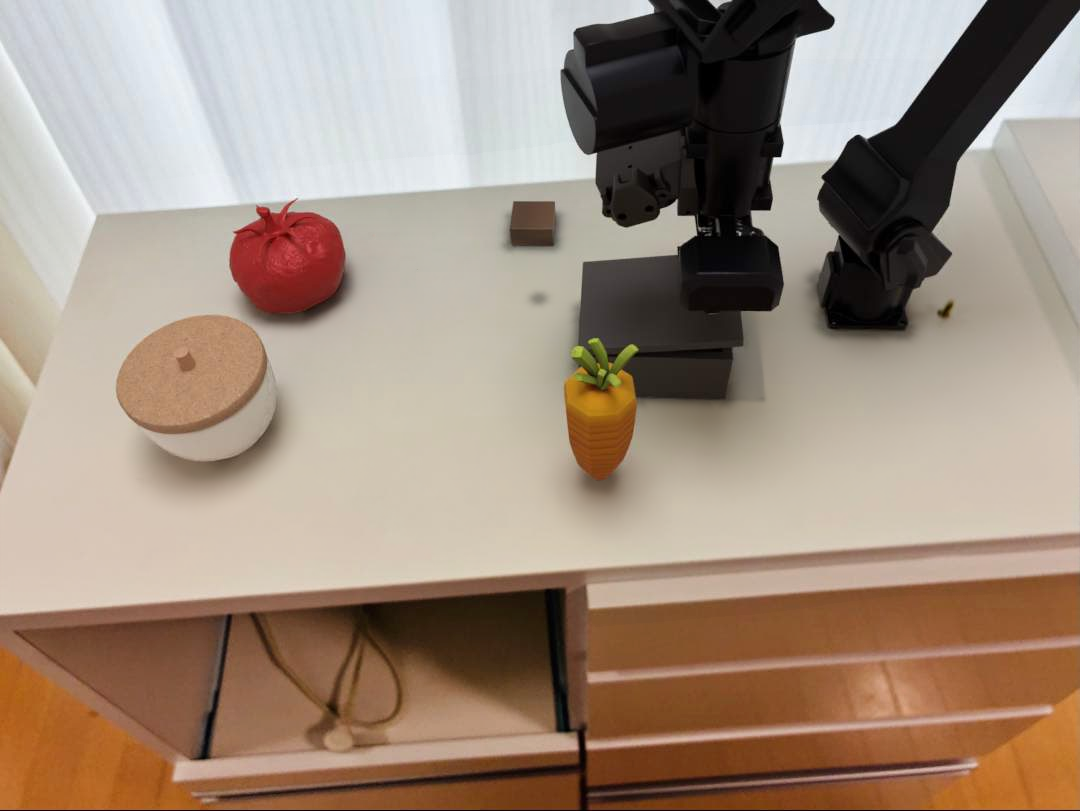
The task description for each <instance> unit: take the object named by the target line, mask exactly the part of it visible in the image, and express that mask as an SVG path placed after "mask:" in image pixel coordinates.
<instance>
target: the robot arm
mask: <svg viewBox="0 0 1080 811" xmlns="http://www.w3.org/2000/svg"><path fill="white" fill-rule="evenodd" d="M647 1H648V2H649V4H650V5H651V6H652V7H653V12H652V13H648V14H644V15H640V16H636V17H631V18H628V19H624V20H619V21H615V22H609V23H592V24H589V25H588V24H587V25H583V26H579V27H576V28H575V30H574V31H573V33H572V36H573V37H572V39H573V48H572V49H569V50H568V51H567V52H566V53H565V57H564V60H563V61H564V62H563V68H562V69H560V72H559V74H560V88H561V96H562V101H563V106H564V111H565V115H566V118H567V121H568V122H567V123H568V125H569V128H570V131H571V133H572V137H573V138H574V140H575V143H576V144H577V146H578V148H579V150H580V151H581V152H582V153H583V154H585V155H586V156H591V155H595V154H596V156H595V157H596V158H595V159H596V160H595V177H594V178H595V179H594V180H595V181H594V182H595V183H594V184H595V186H596V188H597V190H598V192H599V196H600V198H601V214H602V216H603V217H605V218H609V219H610V218H611V220H612V221H613V222H615V223H616V224H617V226H619V227H622V228H625V229H626V228H632V227H635V226H639V225H641V224H645V223H649V222H652V221H655V220H657V219H658V217H659V216H660V215H661V210H662V209H665V208H668V207H670V206H671V205H673V204H674V203H677V204H676V214H677V217H694V223H695V231H696V235H694V236H693V237H691V238H690V239H688V240H687V241H685V242H684V243H683V244H681V245H677V247H676V249H677V250H676V251H677V255H678V291H679V305H680V306H682V307H683V308H685V309H686V310H687V311H704V312H705V313H719V312H720V311H741V312H768V313H769V312H772V311H774V310H775V309H776V308H778V307H779V306H780V303H781V298H782V295H783V290H784V285H785V281H784V274H783V267H782V262H781V256H780V249H779V245H777V244H776V243H775V242H774V241H773V240H772V239H771V238H770V237H769V236H767V235H765V232H764V231H763V229H761V228H759V227H756V226H754V224H753V217H752V212H763V211H764V212H766V211H767V212H769V211H770V212H771V210H772V206H773V202H774V195H773V189H772V182H771V174H772V173H771V172H772V168H773V163H774V159H775V158H782V155H783V150H784V145H785V140H784V136H783V129H782V125H781V121H782V116H783V111H784V106H785V100H786V94H787V90H788V85H789V80H790V74H791V68H792V62H793V59H794V53H795V48H796V41H797V39H799V38H801V37H805V36H808V35H812V34H817V33H820V32H824V31H828V30H830V29H832V28H833V27H834V25H835V22H836V17H835V16H834V15H832V13H831V12H829V11H828V10H827V9H826V8H825V7H823V5H822V4H821V3H820V1H819V0H730V1H725V2H723V3H721V4H720V5H718V7H715V5H713V3H712V2H711V1H710V0H647ZM1079 12H1080V0H986V1H985V2H984V3H983V5H982V7H981V8H980V9H979V10H978V12H977V13H976V15H974V17H973V18H972V20H971V22H970V23H969V24H968V26H967V27H966V28H965V30H964V31H963V33H962V34H961V35H960V37H959V38H957V41H956V42H955V43H954V45H953V46H952V48H951V49H950V50H949V52H948V53H947V54H946V55H945V57H944V59H943V60H942V61H941V63H940V64H939V65H938V67H936V69H935V71H934V72H933V74H932V75H931V76H930V78H928V80H927V81H926V83H925V84H924V86H923V87H922V89H921V90H920V91H919V93H918V94H917V95H916V96H915V98H914V99H913V101H912V102H911V104H910V105H909V106H908V108H907V109H906V110H905V112H904V113H903V115H902V116H901V117H900V119H899V120H898V121H897V122H896V123H895V124H894V125H891V126H890V127H888V128H885V129H884V130H882V131H879V132H878V133H876V134H874V135H872V136H870V137H867V138H866V137H864V136H863V135H861V134H856V135H854V136H853V137H851V138H850V139H848V141H847V142H846V144H845V145H844V147H843V149H842V151H841V153H840V154H839V156H838V158H837V160H835V162H834V163H833V164H832V165H831V167H830V168H828V170H827V171H825V172H824V173H823V174H822V175H821V177H820V178H821V180H822V181H823V183H822V185H821V187H820V189H819V191H818V194H817V197H816V200H817V201H818V209H819V213H820V214H821V215H822V217H823V218H824V219H825V220H826V221H827V224H828V225H829V226H830V227H831V228H833V229H834V230H835V231H836V233H837V234H838V236H837V239H836V242H835V245H834V248H833V251H832V250H829V251H828V252H826V254H825V257H824V260H823V264H822V268H821V271H820V272H819V275H818V281H817V285H816V289H817V295H818V300H819V305H820V307H821V308H822V309H823V310H824V315H825V320H826V325H827V328H829V329H832V330H868V331H870V330H871V331H905V330H906V329H907V328H908V326H909V319H908V316H907V311H906V307H907V305H908V303H909V300H910V298H911V295H912V293H913V291H914V290H916V289H919V288H921V286H922V284H923V282H924V281H925V279H927V278H930V277H933V276H936V275H938V274H939V273H940V271H941V270H943V267H944V266H945V265H946V264H947V262H948V261H949V260H950V258H952V256H953V253H952V251H951V250H950V249H949V248H948V247H947V246H946V245H945V244H944V243H943V241H941V240H940V239H939V238H938V237H937V236H936V235H935V233H933V231H934V229H935V228H936V227H937V225H938V224H939V222H940V221H941V220H942V218H943V216H944V215H945V214H946V212H947V211H948V209H949V207H950V204H951V199H952V194H953V188H954V183H955V178H956V173H957V167H958V162H959V161H960V160H961V158H962V157H963V156H964V154H965V153H966V152H967V150H968V149H969V148H971V146H972V144H973V143H974V142H975V140H976V139H977V138H979V136H980V134H981V133H982V132H983V131H984V130H985V128H986V127H987V126H988V124H989V123H990V122H992V119H993V118H994V117H995V116H996V115H997V113H998V112H1000V109H1001V108H1003V106H1004V105H1005V104H1006V102H1007V101H1008V100H1009V98H1010V97H1011V96H1012V95H1013V94H1014V92H1015V91H1016V90H1017V88H1019V86H1020V85H1021V84H1022V82H1024V80H1025V78H1027V76H1028V75H1029V74H1030V72H1032V70H1033V69H1034V68H1035V66H1036V65H1037V64H1038V63H1039V61H1040V60H1042V58H1043V57H1044V55H1045V54H1046V53H1047V52H1048V50H1049V49H1050V48H1051V47H1052V45H1053V44H1054V43H1055V42H1056V41H1057V39H1058V38H1059V37H1060V36H1061V35H1062V33H1063V32H1064V30H1066V28H1067V27H1068V26H1069V25H1070V24H1071V22H1072V20H1073V19H1074V18H1075V17H1076V16H1077V14H1078V13H1079ZM676 201H677V202H676ZM709 233H710V235H709V236H704V235H706V234H709Z"/></svg>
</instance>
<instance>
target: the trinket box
mask: <svg viewBox="0 0 1080 811" xmlns="http://www.w3.org/2000/svg"><path fill="white" fill-rule="evenodd" d="M115 392H116V393H115V394H116V398H117V401H118V404H119V406H120V407H121V409H122V410H123V412H124V414H126V416H127V417H128V418H129V419H130V420H131V421H132V422H134V423H135V424H136V426H137V427H138V428H139V429H140V431H141V432H142V433H143V434H144V435H145V436H146V437H147V438H148V439H150V441H152V442H153V443H154V444H155V445H156V446H158V447H159V448H161V449H162V450H163V451H165V452H167V453H169V454H170V455H173V456H176V457H177V458H181V459H185V460H188V461H194V462H216V461H222V460H228V459H232V458H235V457H237V456H240V455H242V454H243V453H244V452H247V451H248V450H249V449H251V448H252V447H253V446H254V445H255V444H256V443H257V442H258V440H260V438H261V437H262V436H263V434H264V433H265V432H266V430H267V429H268V428H269V426H270V423H271V421H272V420H273V417H274V413H275V410H276V404H277V396H278V395H277V394H278V393H277V383H276V377H275V375H274V371H273V367H272V364H271V362H270V359H269V357H268V354H267V352H266V347H265V345H264V343H263V341H262V339H261V337H260V336H259V334H258V333H257V331H255V329H254V328H253V327H251V326H250V325H248V324H247V323H246V322H244V321H242V320H240V319H237V318H234V317H230V316H227V315H220V314H202V315H201V314H200V315H194V316H190V317H185V318H181V319H179V320H176V321H175V320H174V321H173V322H170V323H168V324H166V325H163V326H162V327H159V328H158V329H155V331H153V332H151V333H150V334H148V335H147V336H146V337H144V338H143V339H142V340H141V341H140V342H139V343H138V344H136V345H135V346H134V347H133V349H132V350H131V351H130V352H129V353H128V354H127V356H126V358H125V359H124V360H123V362H122V364H121V366H120V368H119V370H118V374H117V378H116V383H115Z"/></svg>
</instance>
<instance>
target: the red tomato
mask: <svg viewBox="0 0 1080 811" xmlns="http://www.w3.org/2000/svg"><path fill="white" fill-rule="evenodd" d="M298 199H299V197H296V198H294V200H291V201H290V202H288V203H286V204H285V205H284V206H283V208H282V209H281V211H280V212H273V211H271V209H270V208H269V207H267V206H259V205H256V204H255V207H256V208H255V211H256V214H257V215H258V216H259V217H260V218H258V219H256V220H254V221H253V222H250V223H248V224H247V225H245V226H243V227H242V228H240V229H237V230H235V231H233V230H232V233H233V234H235V236H234V238H233V241H232V243H231V245H230V250H229V259H228V262H229V264H228V265H229V266H228V267H229V271H230V273H231V277H232V279H233V281H234V283H236V284H237V286H238V288H239V289H240V291H241V292H242V293H243V295H245V297H246V298H247V299H248V300H249V301H250V303H251V304H252V305H253V306H254V307H255V308H256V309H258V310H260V311H261V312H263V313H266V314H270V315H280V314H293V313H300V312H304V311H306V310H308V309H311V308H312V307H315V306H316V305H319V304H321V303H323V302H325V301H326V300H327V299H329V298H331V297H332V296H333V295H334V294H335V293H336V292H337V291H338V288H339V286H340V284H341V281H342V278H343V274H344V270H345V267H346V250H345V246H344V240H343V237H342V234H341V231H340V229H339V227H338V226H337V225H336V224H335V222H333V221H332V220H331V219H329V218H327V217H325V216H323V215H321V214H319V213H316V212H311V211H301V212H300V211H299V212H297V211H289V208H290V206H292V205H293V204H294V203H295V202H296V201H297V200H298ZM288 211H289V212H288Z"/></svg>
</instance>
